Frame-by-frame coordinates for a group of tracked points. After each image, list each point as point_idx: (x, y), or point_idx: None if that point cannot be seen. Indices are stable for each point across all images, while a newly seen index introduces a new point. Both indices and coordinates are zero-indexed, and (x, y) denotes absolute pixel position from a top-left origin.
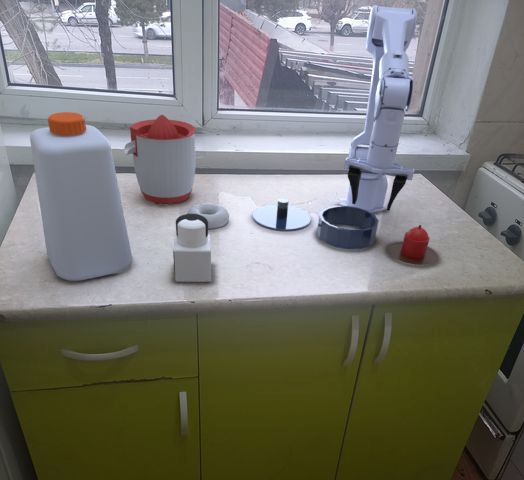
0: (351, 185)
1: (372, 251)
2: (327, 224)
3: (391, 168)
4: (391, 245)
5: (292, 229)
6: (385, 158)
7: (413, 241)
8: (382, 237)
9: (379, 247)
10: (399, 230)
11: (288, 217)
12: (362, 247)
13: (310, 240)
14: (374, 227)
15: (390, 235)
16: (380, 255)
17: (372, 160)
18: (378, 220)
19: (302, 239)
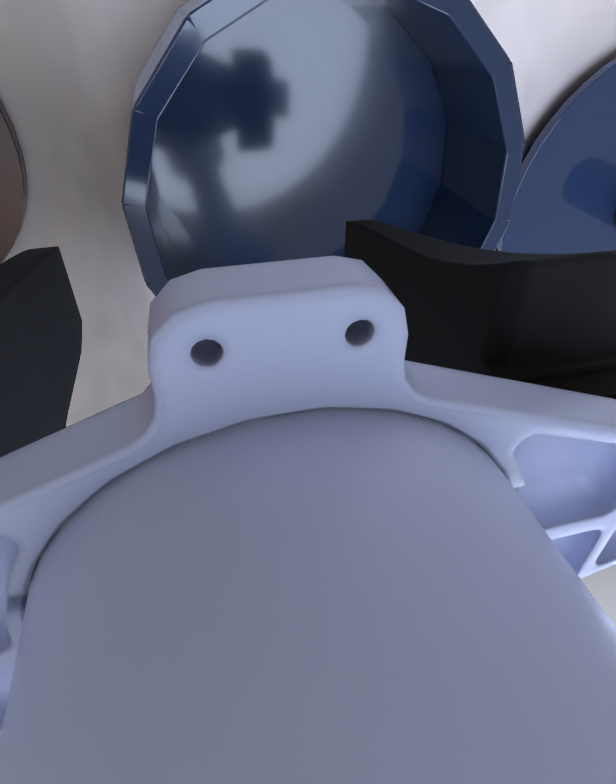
0: (486, 250)
1: (95, 58)
2: (472, 5)
3: (8, 572)
4: (12, 186)
5: (601, 73)
6: (168, 744)
7: None
8: (117, 284)
9: (79, 146)
10: (72, 399)
11: (608, 210)
12: (163, 33)
13: (487, 22)
14: (127, 149)
15: (88, 328)
16: (19, 16)
17: (504, 529)
18: (144, 280)
19: (533, 11)
